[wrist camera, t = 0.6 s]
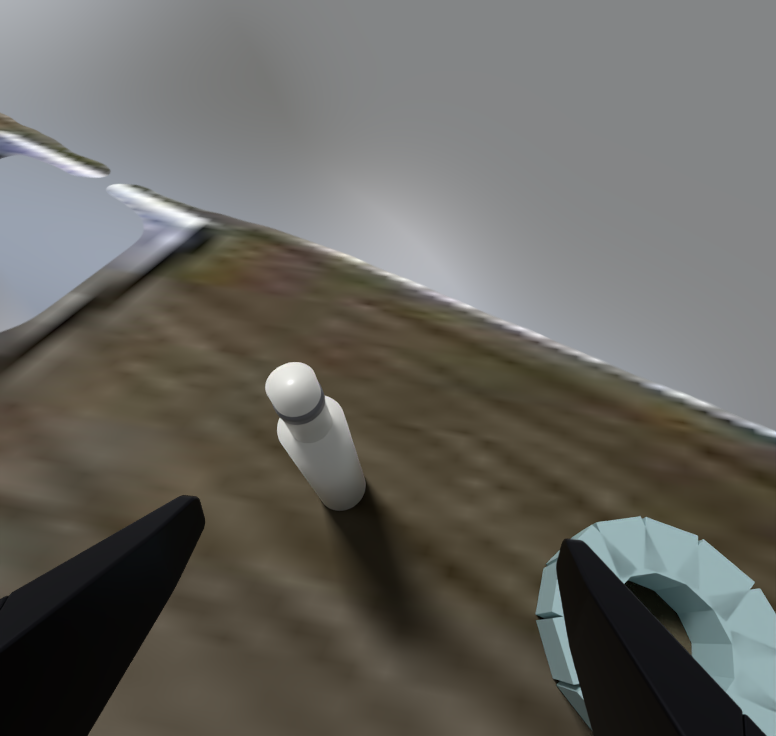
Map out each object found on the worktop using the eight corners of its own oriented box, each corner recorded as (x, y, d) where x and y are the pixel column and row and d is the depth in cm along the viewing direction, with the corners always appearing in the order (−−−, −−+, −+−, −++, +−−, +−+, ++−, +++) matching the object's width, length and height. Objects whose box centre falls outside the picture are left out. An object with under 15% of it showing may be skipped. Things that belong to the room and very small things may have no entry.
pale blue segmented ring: (767, 831, 15) (833, 867, 13) (520, 700, 18) (536, 710, 16) (743, 576, 20) (787, 568, 18) (554, 505, 23) (570, 489, 21)
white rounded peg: (352, 518, 24) (304, 430, 13) (309, 499, 24) (233, 402, 14) (373, 473, 25) (344, 363, 15) (332, 456, 26) (278, 342, 16)
